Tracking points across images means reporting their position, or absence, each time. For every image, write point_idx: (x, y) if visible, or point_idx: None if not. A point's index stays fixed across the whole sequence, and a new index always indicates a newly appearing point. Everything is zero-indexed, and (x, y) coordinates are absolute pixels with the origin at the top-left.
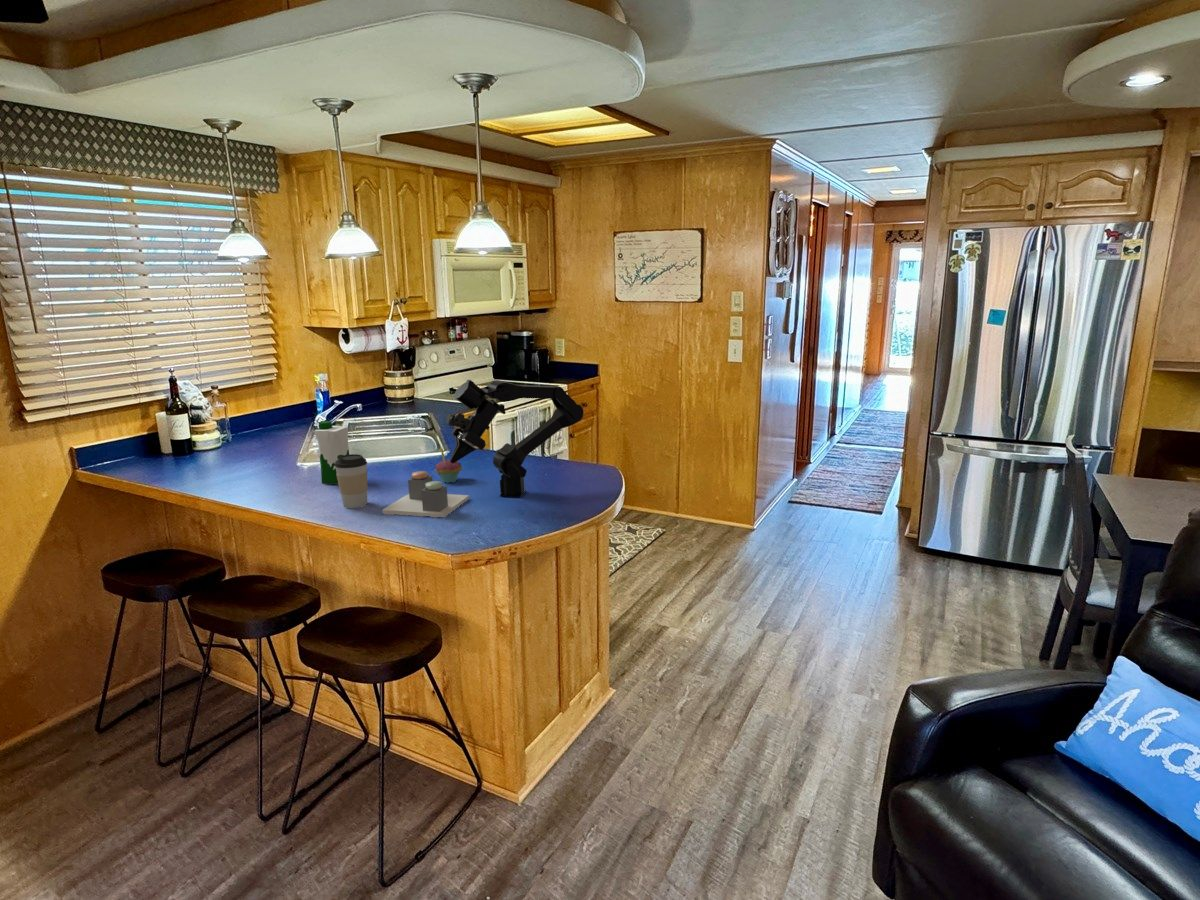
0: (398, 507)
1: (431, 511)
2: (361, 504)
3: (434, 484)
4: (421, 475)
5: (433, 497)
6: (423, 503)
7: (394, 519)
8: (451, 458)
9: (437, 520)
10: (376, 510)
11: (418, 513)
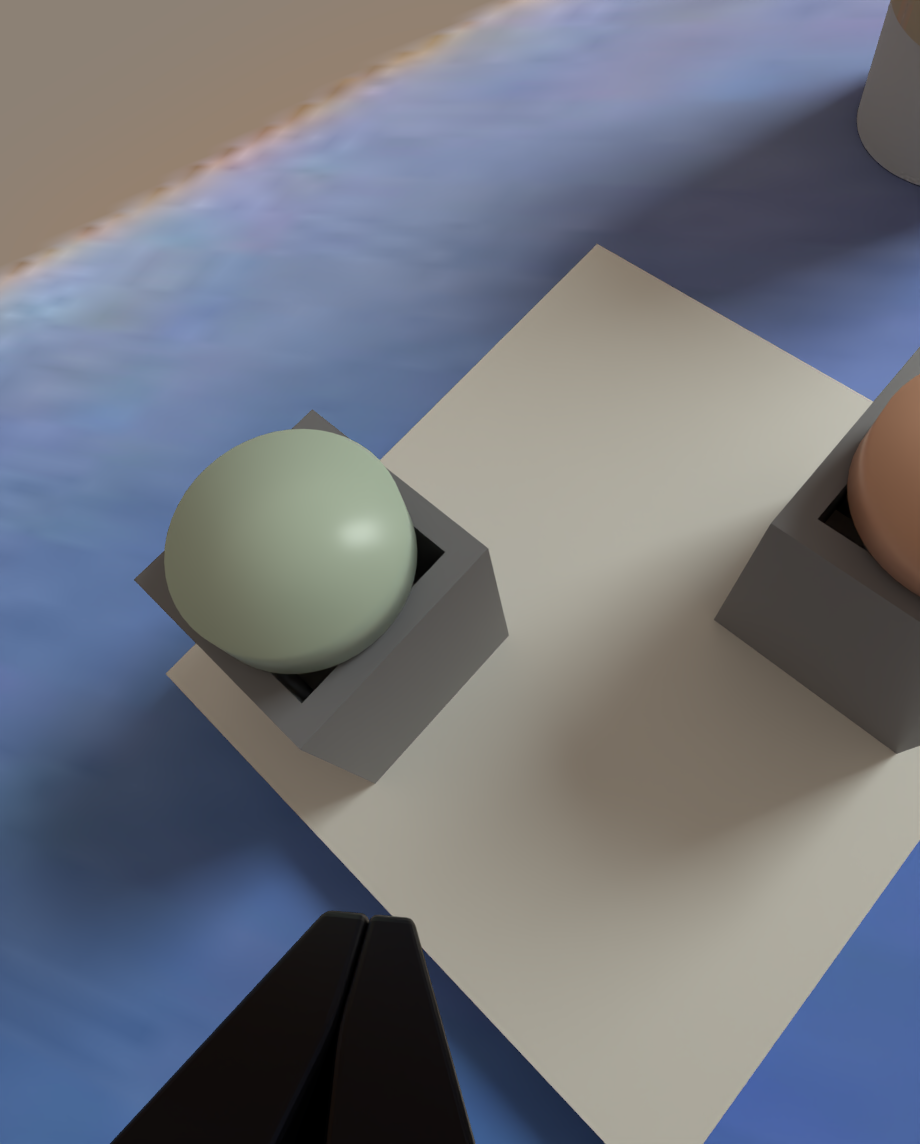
0: (592, 357)
1: None
2: (878, 136)
3: (228, 536)
4: (869, 473)
5: None
6: None
7: (405, 329)
8: (323, 972)
9: (167, 615)
10: (714, 240)
11: None
